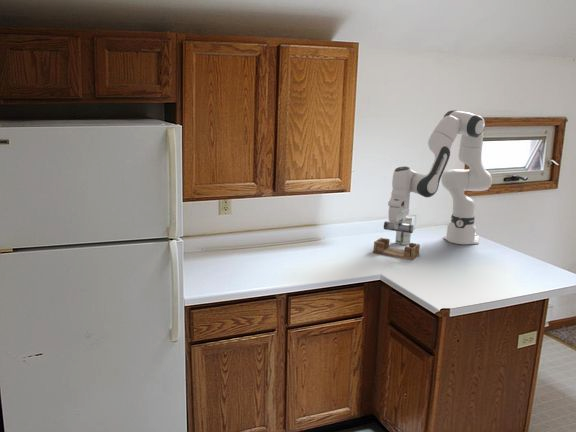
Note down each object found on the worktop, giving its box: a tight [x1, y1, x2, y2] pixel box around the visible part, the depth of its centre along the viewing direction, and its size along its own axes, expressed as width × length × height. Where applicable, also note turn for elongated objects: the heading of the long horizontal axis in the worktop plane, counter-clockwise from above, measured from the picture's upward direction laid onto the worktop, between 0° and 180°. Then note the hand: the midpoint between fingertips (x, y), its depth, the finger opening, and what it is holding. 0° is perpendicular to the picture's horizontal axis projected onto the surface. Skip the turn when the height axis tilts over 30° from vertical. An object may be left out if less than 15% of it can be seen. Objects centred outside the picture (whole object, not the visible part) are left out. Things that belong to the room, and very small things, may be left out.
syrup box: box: [395, 215, 413, 246], centre depth 305 cm, size 6×6×14 cm
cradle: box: [372, 237, 421, 261], centre depth 288 cm, size 10×20×6 cm, turn 60°
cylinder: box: [383, 220, 415, 234], centre depth 285 cm, size 4×14×4 cm, turn 61°
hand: (398, 227), depth 285 cm, fingers closed on cylinder, 4 cm apart
